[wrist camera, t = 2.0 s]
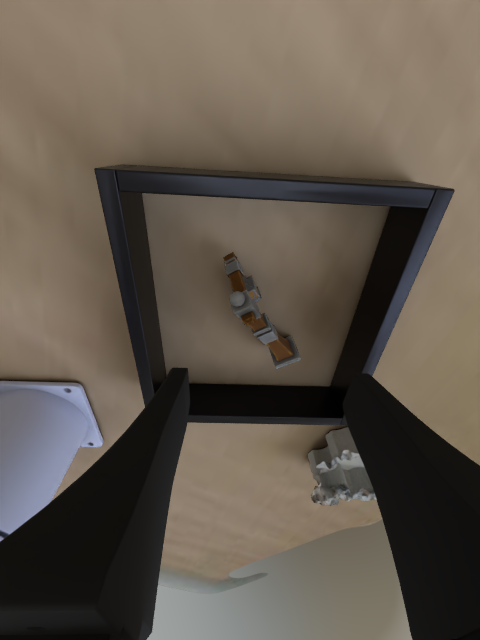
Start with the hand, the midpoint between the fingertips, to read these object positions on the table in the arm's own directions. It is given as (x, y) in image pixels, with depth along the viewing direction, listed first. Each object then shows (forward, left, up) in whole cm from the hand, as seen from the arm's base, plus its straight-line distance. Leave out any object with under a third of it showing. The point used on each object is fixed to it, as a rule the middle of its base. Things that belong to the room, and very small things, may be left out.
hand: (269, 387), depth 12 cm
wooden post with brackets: (0, 0, -7) cm, 7 cm away
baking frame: (0, 0, -7) cm, 7 cm away
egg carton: (+12, -16, -7) cm, 21 cm away
